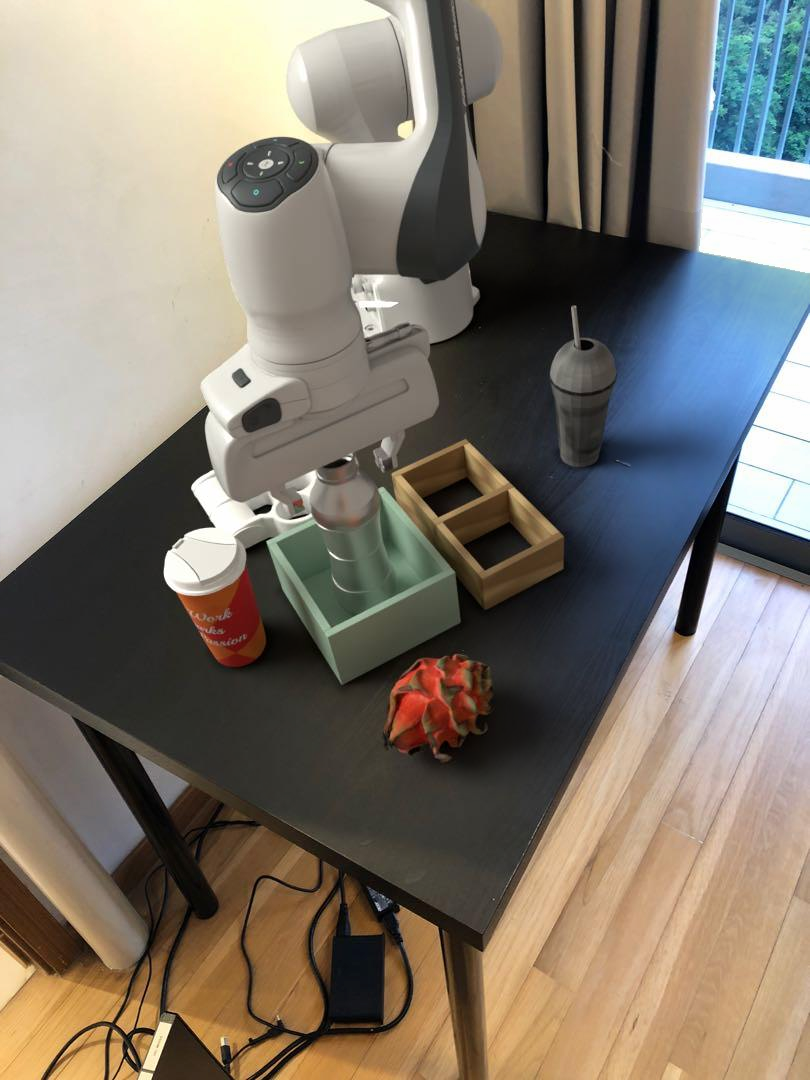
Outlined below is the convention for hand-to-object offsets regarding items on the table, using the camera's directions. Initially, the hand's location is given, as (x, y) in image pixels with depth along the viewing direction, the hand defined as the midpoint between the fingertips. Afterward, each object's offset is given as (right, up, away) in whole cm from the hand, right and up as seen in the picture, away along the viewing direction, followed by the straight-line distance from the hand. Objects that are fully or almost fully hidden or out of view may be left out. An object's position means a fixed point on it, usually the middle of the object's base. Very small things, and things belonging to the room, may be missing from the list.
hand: (341, 487), depth 79 cm
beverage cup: (+26, +5, +24) cm, 36 cm away
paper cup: (-11, -16, +11) cm, 22 cm away
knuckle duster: (-10, 0, +25) cm, 27 cm away
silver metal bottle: (+2, -11, +12) cm, 16 cm away
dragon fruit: (+9, -22, +1) cm, 24 cm away
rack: (+14, -4, +17) cm, 22 cm away
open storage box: (+2, -12, +12) cm, 17 cm away
